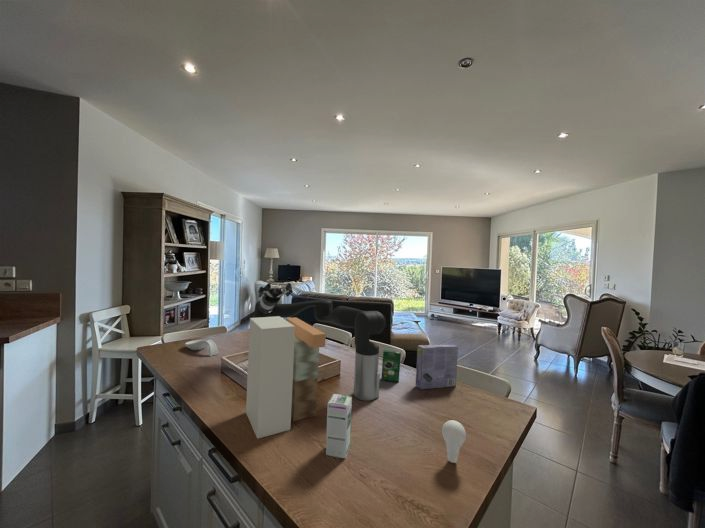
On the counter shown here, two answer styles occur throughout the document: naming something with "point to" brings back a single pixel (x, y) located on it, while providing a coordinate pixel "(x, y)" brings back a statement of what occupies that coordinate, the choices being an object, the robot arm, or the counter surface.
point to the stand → (270, 375)
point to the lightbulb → (453, 438)
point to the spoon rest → (203, 346)
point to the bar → (308, 333)
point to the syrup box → (338, 425)
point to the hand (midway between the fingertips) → (279, 284)
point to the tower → (304, 380)
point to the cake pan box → (436, 366)
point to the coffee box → (391, 365)
